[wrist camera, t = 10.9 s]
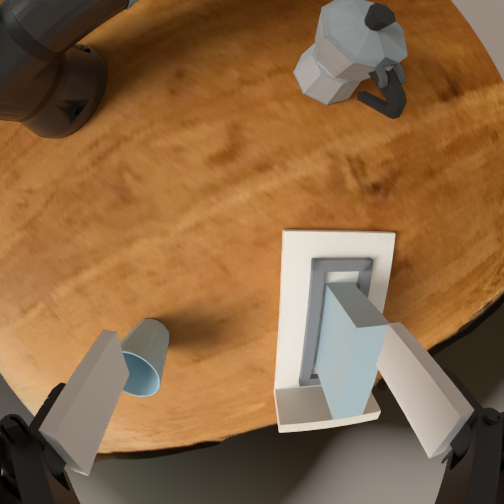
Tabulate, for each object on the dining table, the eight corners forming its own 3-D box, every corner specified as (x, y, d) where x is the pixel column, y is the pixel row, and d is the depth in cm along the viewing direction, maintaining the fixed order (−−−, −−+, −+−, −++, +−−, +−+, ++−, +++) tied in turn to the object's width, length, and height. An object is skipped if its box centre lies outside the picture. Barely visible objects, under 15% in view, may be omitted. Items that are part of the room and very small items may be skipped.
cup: (173, 312, 38) (152, 354, 28) (180, 354, 41) (165, 399, 31) (126, 310, 38) (97, 348, 28) (136, 351, 40) (114, 393, 30)
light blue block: (325, 282, 37) (356, 327, 25) (352, 282, 37) (391, 324, 25) (314, 364, 40) (333, 419, 29) (338, 362, 40) (362, 415, 29)
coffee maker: (276, 46, 29) (299, -37, 12) (333, 34, 28) (384, -36, 11) (321, 142, 33) (388, 117, 15) (376, 125, 32) (464, 101, 15)
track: (282, 229, 36) (295, 247, 27) (391, 231, 36) (427, 248, 27) (273, 392, 43) (279, 432, 34) (360, 384, 44) (377, 418, 35)
